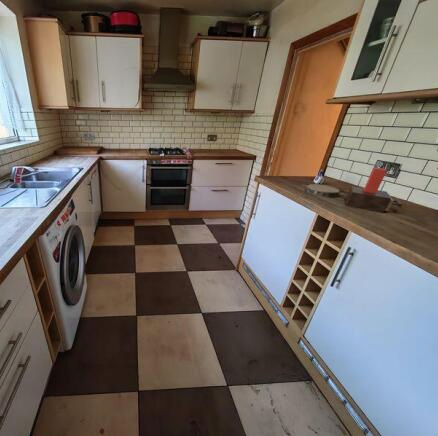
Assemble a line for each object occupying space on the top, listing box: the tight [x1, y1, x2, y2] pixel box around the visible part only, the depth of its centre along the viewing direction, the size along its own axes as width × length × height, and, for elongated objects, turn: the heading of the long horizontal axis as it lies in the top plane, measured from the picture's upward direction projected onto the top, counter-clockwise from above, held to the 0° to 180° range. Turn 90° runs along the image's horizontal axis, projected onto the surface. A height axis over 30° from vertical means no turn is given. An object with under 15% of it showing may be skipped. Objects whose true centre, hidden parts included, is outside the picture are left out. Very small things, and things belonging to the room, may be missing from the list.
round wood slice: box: [306, 183, 340, 198], centre depth 138 cm, size 16×16×3 cm
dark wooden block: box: [345, 185, 392, 213], centre depth 120 cm, size 15×14×8 cm
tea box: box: [363, 167, 388, 194], centre depth 116 cm, size 4×4×12 cm
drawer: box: [384, 193, 403, 212], centre depth 118 cm, size 18×12×6 cm
